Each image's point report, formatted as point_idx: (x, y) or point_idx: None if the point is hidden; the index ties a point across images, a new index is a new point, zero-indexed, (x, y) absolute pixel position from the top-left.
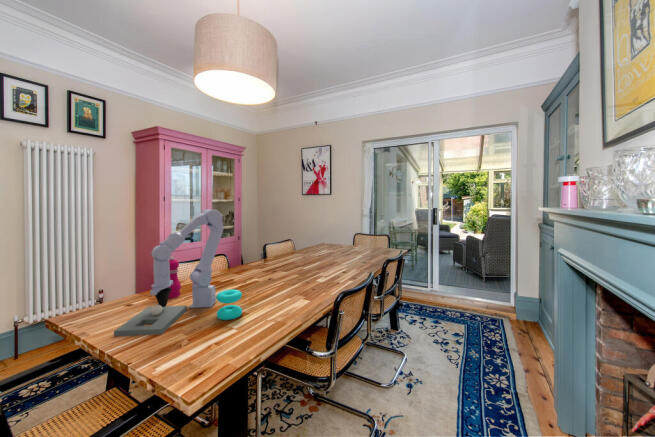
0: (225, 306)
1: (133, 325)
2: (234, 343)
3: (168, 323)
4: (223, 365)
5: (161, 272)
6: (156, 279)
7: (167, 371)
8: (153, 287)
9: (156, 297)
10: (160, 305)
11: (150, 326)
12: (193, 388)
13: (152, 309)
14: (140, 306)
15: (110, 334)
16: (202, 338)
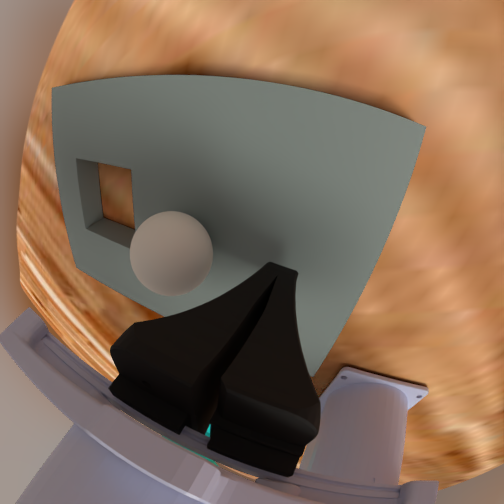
0: (209, 432)
1: (80, 146)
2: (98, 361)
3: (113, 286)
4: (58, 328)
5: None
6: (23, 494)
7: (28, 269)
8: (50, 397)
9: (189, 312)
10: (167, 295)
11: (80, 227)
12: (28, 292)
13: (133, 238)
14: None
15: (88, 52)
16: (97, 333)
